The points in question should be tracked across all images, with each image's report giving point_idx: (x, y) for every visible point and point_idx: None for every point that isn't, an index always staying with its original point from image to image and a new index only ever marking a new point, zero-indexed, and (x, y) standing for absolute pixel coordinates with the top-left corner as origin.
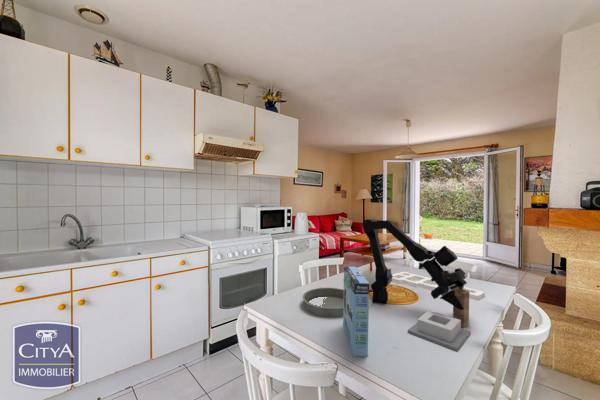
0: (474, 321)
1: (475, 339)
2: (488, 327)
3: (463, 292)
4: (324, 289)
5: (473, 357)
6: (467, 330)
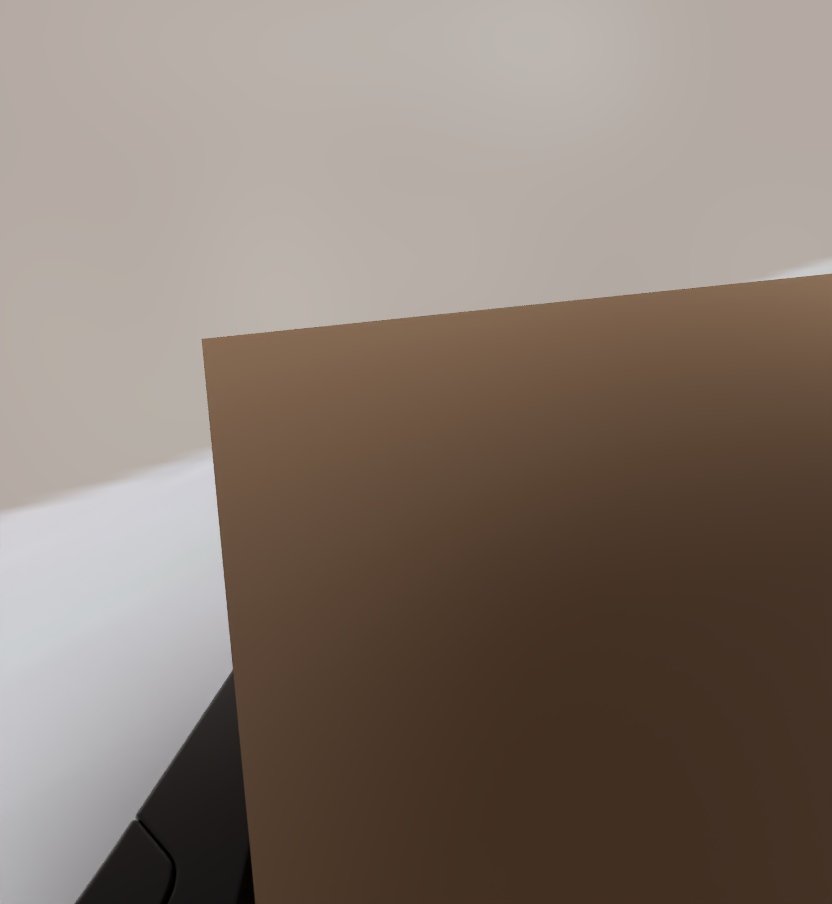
0: (78, 718)
1: None
2: (120, 502)
3: (805, 368)
4: None
5: (822, 273)
6: None
